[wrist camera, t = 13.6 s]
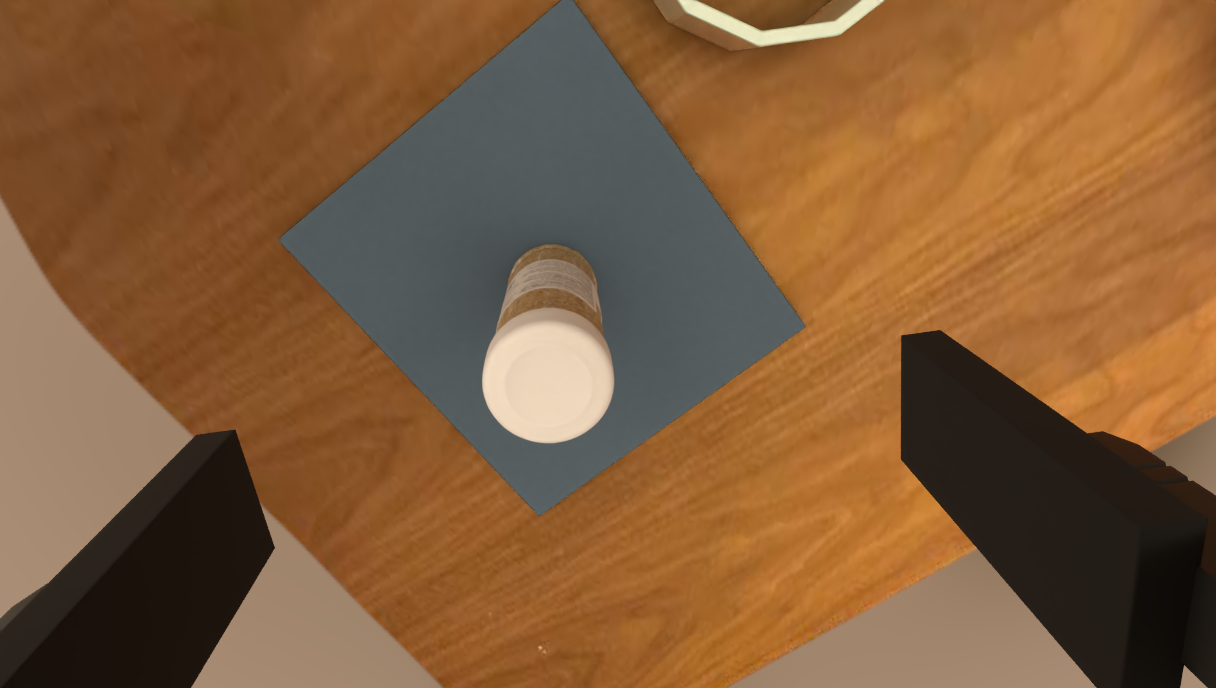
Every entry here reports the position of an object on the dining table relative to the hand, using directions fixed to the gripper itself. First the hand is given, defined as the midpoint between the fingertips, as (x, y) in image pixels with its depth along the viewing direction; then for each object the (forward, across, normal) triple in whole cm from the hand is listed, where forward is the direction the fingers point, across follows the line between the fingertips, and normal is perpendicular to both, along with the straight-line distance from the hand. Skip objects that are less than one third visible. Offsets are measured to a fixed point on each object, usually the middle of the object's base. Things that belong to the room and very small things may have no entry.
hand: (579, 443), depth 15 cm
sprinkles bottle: (+24, -1, -3) cm, 24 cm away
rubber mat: (+24, -1, -3) cm, 25 cm away
